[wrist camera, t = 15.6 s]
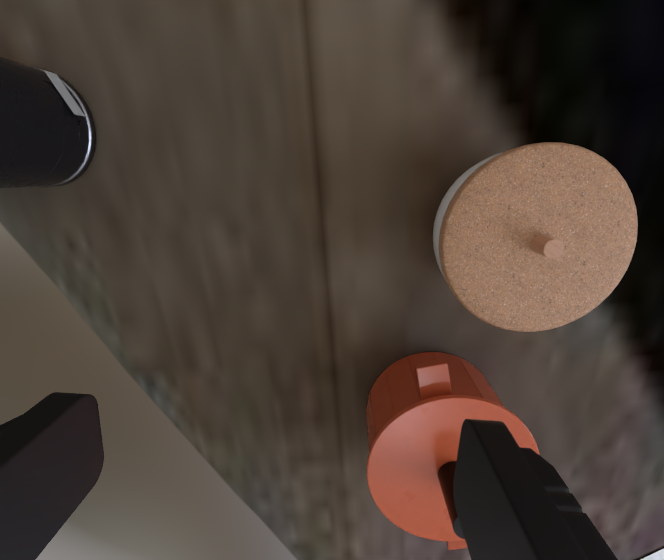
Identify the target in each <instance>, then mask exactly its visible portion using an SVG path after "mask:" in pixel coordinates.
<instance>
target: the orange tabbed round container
mask: <svg viewBox="0 0 664 560" xmlns="http://www.w3.org/2000/svg"><path fill="white" fill-rule="evenodd" d="M443 395H470V396H476V397H480V398H484V399H487V400H490V401H493V402H495V403H498V404H499V405H501V406H503V405H502V403H501V402H500V400H499V399H498V397H497V396H496V394H495V393H494V391H493V389H492V388H491V386H490V385H489V383H488V382H487V380H486V379H485V377H484V376H483V374H482V373H481V371H480V370H478V369H477V368H476V367H475V366H473V365H472V364H471V363H469V362H468V361H466V360H464V359H462V358H460V357H457V356H455V355H452V354H447V353H442V352H423V353H417V354H413V355H410V356H407V357H404V358H402V359H400V360H398V361H396V362H395V363H393V364H392V365H390V366H389V367H388V368H387V369H386V370H384V371H383V372H382V374H381V375H380V376H379V377H378V378H377V380H376V381H375V383H374V384H373V387H372V389H371V391H370V394H369V397H368V403H367V410H366V416H367V429H368V442H369V452H370V449H371V446H372V444H373V442H374V440H375V438H376V436H377V435H378V433H379V432H380V430H381V429H382V428H383V426H384V425H385V424H386V423H387V422H388V421H389V420H390V419H391V418H393V417H394V416H395V415H396V414H397V413H399V412H400V411H402V410H403V409H405V408H407V407H409V406H411V405H413V404H415V403H417V402H420V401H422V400H425V399H428V398H432V397H437V396H443ZM503 407H504V406H503ZM446 542H447V546H448V549H449V550H454V549H462V548H468V547H467V544H466V540H462V541H446Z"/></svg>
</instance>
